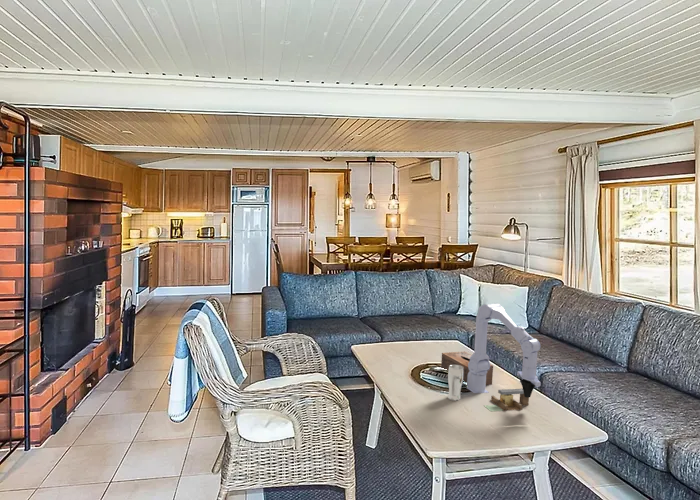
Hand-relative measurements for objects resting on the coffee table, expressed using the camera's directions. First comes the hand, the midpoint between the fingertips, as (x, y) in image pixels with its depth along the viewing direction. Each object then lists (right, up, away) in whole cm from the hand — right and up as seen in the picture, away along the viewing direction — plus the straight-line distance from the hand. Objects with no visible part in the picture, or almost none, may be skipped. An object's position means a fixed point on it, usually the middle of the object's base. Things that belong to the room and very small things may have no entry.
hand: (527, 396), depth 211 cm
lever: (-4, 0, +6) cm, 7 cm away
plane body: (-5, -6, +6) cm, 10 cm away
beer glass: (-30, -4, +11) cm, 32 cm away
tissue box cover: (-17, -3, +43) cm, 46 cm away
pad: (-15, -6, +1) cm, 16 cm away
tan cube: (-8, -5, +5) cm, 11 cm away
